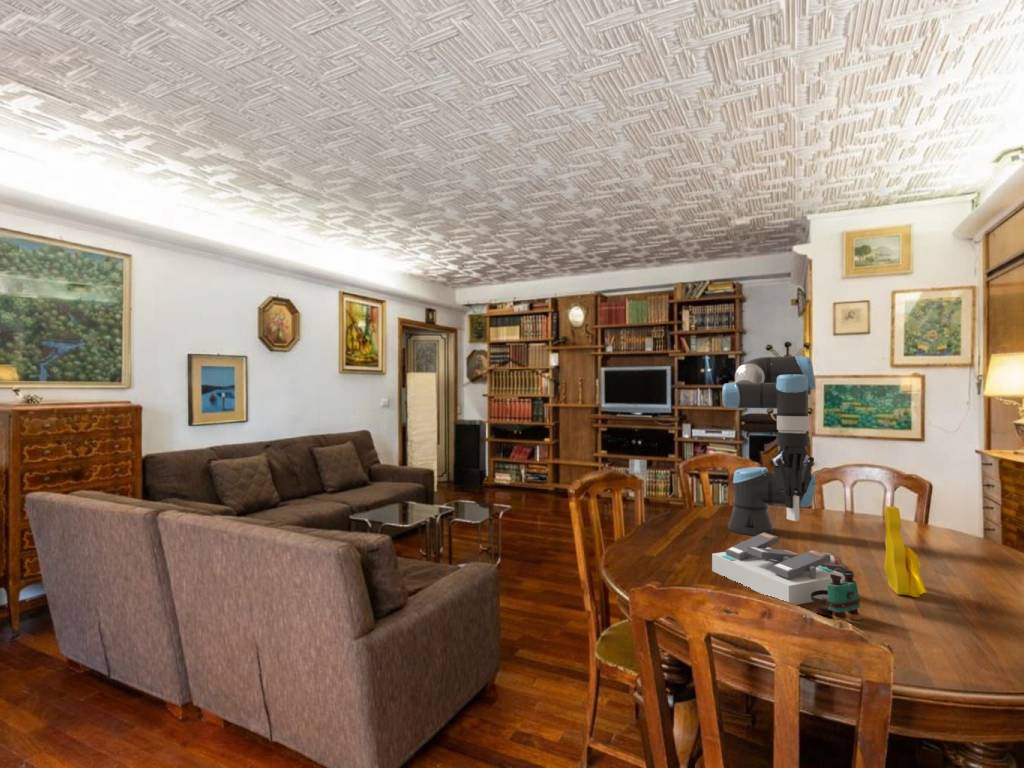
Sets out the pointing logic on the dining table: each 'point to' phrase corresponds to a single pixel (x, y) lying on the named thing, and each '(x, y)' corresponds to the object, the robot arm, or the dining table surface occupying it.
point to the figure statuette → (900, 559)
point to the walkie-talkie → (834, 564)
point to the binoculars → (840, 598)
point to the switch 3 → (800, 563)
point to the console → (774, 577)
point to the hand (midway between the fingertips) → (792, 519)
